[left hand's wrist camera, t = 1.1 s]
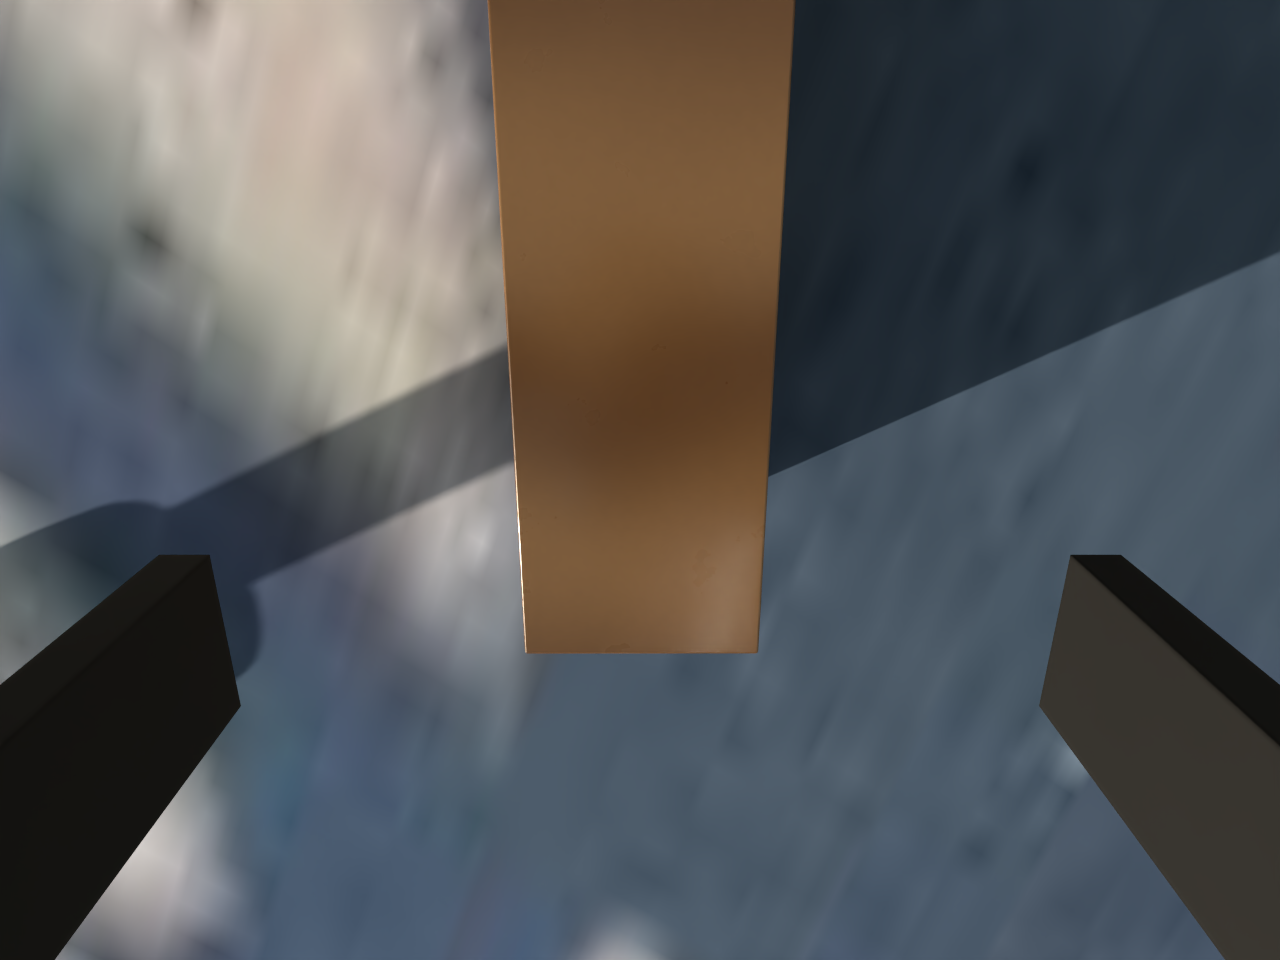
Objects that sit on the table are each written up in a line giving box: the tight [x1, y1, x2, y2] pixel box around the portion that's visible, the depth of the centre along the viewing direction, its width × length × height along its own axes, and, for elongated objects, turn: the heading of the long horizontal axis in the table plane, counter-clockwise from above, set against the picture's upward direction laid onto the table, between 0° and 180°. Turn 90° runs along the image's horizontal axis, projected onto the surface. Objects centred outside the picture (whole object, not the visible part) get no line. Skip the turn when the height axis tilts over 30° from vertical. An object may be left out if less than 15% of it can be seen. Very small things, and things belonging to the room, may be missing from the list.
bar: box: [488, 0, 796, 653], centre depth 18 cm, size 26×5×9 cm, turn 0°
